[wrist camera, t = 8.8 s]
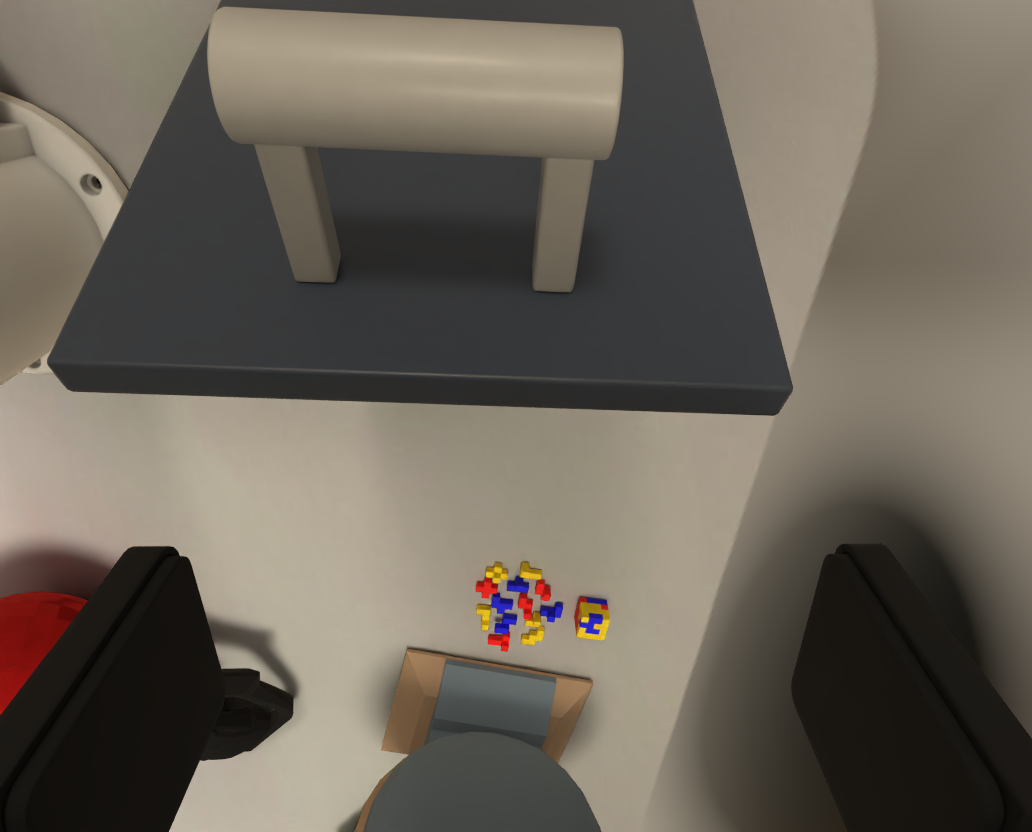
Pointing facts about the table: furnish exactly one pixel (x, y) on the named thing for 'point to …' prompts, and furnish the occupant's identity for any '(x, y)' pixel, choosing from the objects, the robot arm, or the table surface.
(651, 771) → the table surface
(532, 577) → the building blocks
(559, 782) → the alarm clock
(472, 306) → the box lid
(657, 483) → the table surface
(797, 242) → the table surface
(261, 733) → the decorative object
